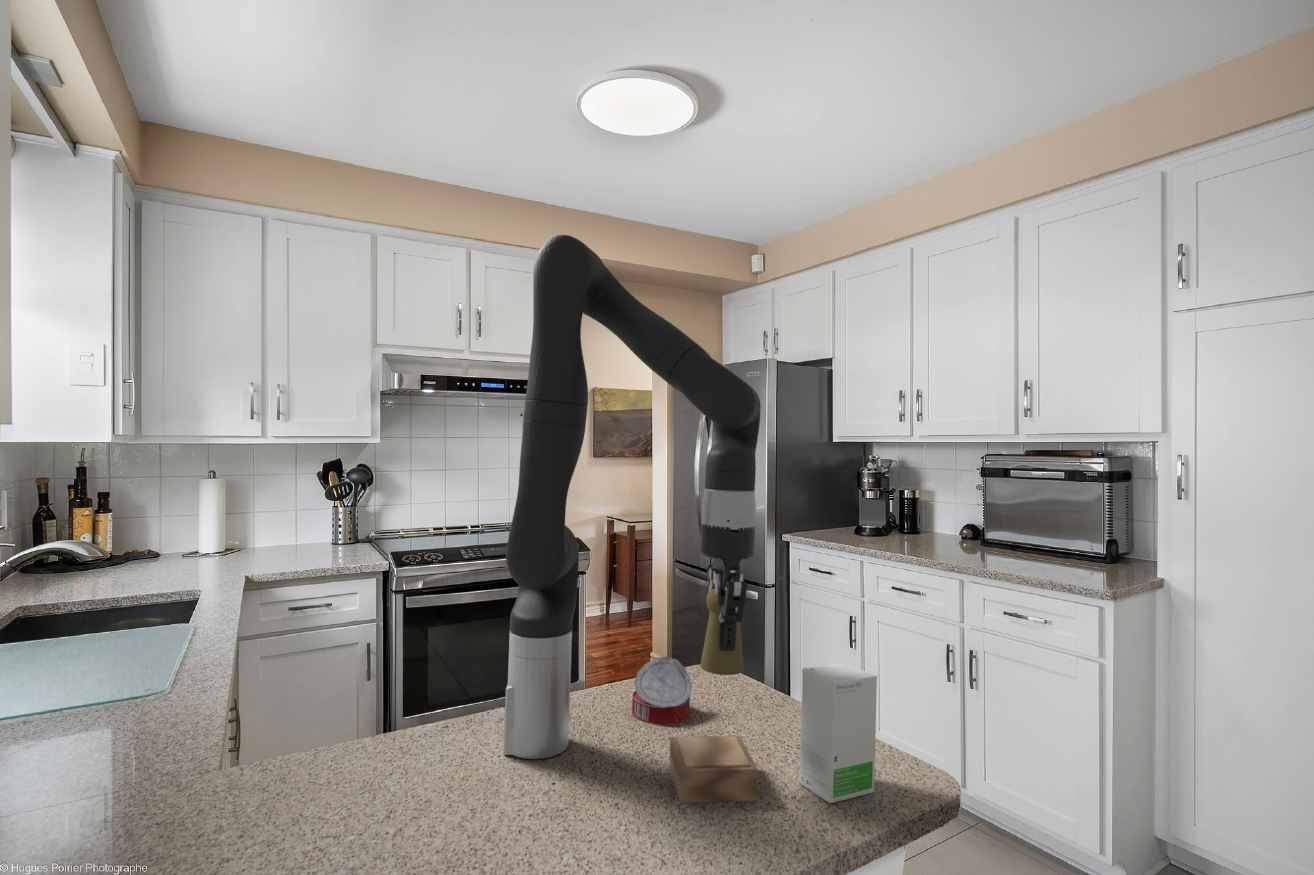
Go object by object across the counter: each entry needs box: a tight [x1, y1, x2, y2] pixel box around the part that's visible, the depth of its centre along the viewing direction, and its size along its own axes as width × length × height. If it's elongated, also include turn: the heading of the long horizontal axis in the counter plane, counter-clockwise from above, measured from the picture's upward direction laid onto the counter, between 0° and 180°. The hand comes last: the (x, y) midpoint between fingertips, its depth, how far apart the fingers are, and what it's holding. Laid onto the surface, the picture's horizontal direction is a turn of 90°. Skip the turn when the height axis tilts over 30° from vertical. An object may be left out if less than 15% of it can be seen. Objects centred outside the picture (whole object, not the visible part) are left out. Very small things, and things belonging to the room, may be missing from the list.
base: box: [669, 735, 759, 804], centre depth 90 cm, size 10×10×4 cm
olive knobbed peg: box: [700, 588, 745, 676], centre depth 93 cm, size 6×6×11 cm
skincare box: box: [798, 663, 878, 804], centre depth 90 cm, size 8×7×16 cm
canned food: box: [631, 656, 693, 726], centre depth 114 cm, size 11×10×10 cm
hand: (722, 644), depth 93 cm, fingers closed on olive knobbed peg, 4 cm apart
